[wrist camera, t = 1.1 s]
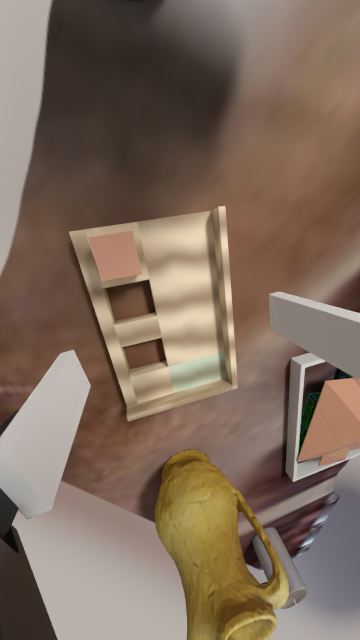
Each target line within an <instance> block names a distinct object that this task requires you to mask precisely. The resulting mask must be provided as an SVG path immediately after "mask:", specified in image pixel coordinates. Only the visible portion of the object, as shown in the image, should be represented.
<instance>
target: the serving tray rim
mask: <svg viewBox="0 0 360 640" xmlns="http://www.w3.org/2000/svg"><path fill="white" fill-rule="evenodd" d="M322 362H325V360H323V359H321V358H319V357H317V356H316V355H314V354H312V353H307V354H304V355H300V356H297V357H294V358H291V366H290V387H289V408H288V429H287V450H286V473H287V474H288V475H289V477H290V478H291V480H292V481H293V482H294V481H296V480H299V479H301V478H304V477H306V476H309V475H311V474H314V473H316V472H318V471H321V470H323V469H326V468H328V467H331V466H333V465H336V464H338V463H341V462H343V461H346V460H348V459H350V458H353V457H355V456H358V455H360V448H359V449H355V450H350V451H349V452H348V455H347V457H346V459H345V460H343V461H339V462H334V463H330V464H326V465H321V466H318V465H319V462H320V459H321V457H318V458H314V459H310V460H307V461H305V462H302V463H300V464H297V459H298V449H299V437H300V424H301V411H302V399H303V386H304V373H305V368H306V367H309V366H312V365H316V364H319V363H322Z"/></svg>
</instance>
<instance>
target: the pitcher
mask: <svg viewBox="0 0 360 640" xmlns="http://www.w3.org/2000/svg"><path fill="white" fill-rule="evenodd" d="M165 464H166V465H165V466H164V467H163V470H162V472H161V480H162V483H161V486H160V491H159V495H158V499H157V503H156V508H155V522H156V529H157V532H158V535H159V538H160V540H161V541H162V543H163V545H164V547H165V549H166V550H167V552H168V553H169V554H170V555H171V557H172V559H173V560H174V562H175V564H176V566H177V569H178V571H179V574H180V577H181V580H182V585H183V589H184V594H185V599H186V610H187V640H267V639H268V638H269V637H270V636H271V634H272V633H273V632H274V630H275V628H276V626H277V618H276V615H275V614H274V612H273V609H279V608H281V607H282V606H283V605H285V603H286V601H287V599H288V597H289V584H288V579H287V576H286V573H285V570H284V568H283V566H282V563H281V561H280V559H279V557H278V555H277V553H276V551H275V550H274V548H273V546H272V544H271V542H270V540H269V539H268V537H267V535H266V532H265V531H264V529H263V528H262V526H261V525H260V523H259V522H258V520H257V519H256V517H255V515H254V514H253V512H252V511H251V509H250V507H249V506H248V504H247V502H246V501H245V499H244V498H243V496H242V495H241V493H240V492H239V491H238V490H237V489H236V488H235V487H234V486H233V485H232V484H231V482H230V481H229V480H228V479H227V478H226V477H225V476H224V474H223V473H222V472H221V471H220V470H219V469H218V468H217V467H216V466H215V465H213V464H211V463H209V458H208V457H207V455H206V454H205V453H203V452H201V451H199V450H185V451H180V452H179V453H177V454H176V455H173V456H172V457H171V458H170V459H169V460H168V461H167V462H166V463H165ZM239 512H243V514H244V515H245V517H246V518H247V520H248V521H249V522H250V524H251V525H252V527H253V528H254V530H255V532H256V533H257V535H258V537H259V539H260V540H261V542H262V544H263V545H264V547H265V549H266V551H267V553H268V555H269V557H270V560H271V563H272V575H271V577H270V579H269V581H268V582H265V583H262V584H260V583H259V582H258V581H257V580H256V579H255V578H254V577H253V575H252V574H251V573H250V572H249V570H248V568H247V566H246V563H245V560H244V557H243V554H242V549H241V546H240V541H239V536H238V513H239Z"/></svg>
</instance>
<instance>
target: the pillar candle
mask: <svg viewBox="0 0 360 640" xmlns="http://www.w3.org/2000/svg"><path fill="white" fill-rule="evenodd" d="M264 531H265V532H266V535H267V537H268V539H269V540H270V542H271V544H272V546H273V548H274V550H275V551H276V553H277V555H278V557H279V559H280V561H281V563H282V566H283V568H284V570H285V573H286V576H287V579H288V584H289V597H288V599H287V601H286V603H285V605H283V606H282V607H281V608H280V609H287V608H290V607H292V606H294V605H296V604H297V603H298V602H300V601H301V600H302V599H303V598H304V597H305V596H306V594H307V588H306V586H305V584H304V582H303V580H302V578H301V577H300V575H299V573H298V571H297V569H296V567H295V565H294V563H293V562H292V559H291V557H290V555H289V554H288V552H287V550H286V548H285V546H284V544H283V542H282V540H281V538H280V536H279V534H278V532H277V531H276V529H275V528H273V527H269V528H266V529H264ZM252 543H253V546H254V549H255V551H256V554H257V556H258V559H259V561H260V563H261V566H262V568H263V570H264V573H265V575H266V577H267V580H268V581H269V579H270V577H271V575H272V563H271V560H270V557H269V555H268V553H267V551H266V549H265V547H264V545H263V544H262V542H261V540H260V539H259V537H258V535H256V536H255V537H254V538H253V540H252ZM296 607H297V605H296Z"/></svg>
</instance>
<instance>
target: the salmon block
mask: <svg viewBox="0 0 360 640" xmlns="http://www.w3.org/2000/svg"><path fill="white" fill-rule="evenodd" d="M88 239H89V242H90V245H91V249H92V252H93V255H94V259H95V262H96V265H97V268H98V272H99V275H100V278H101V282H102V281H107V280H112V279H117V278H123V277H128V276H133V275H138V274H142V271H141V266H140V262H139V257H138V253H137V249H136V244H135V240H134V235H133V231H127V232H121V233H114V234H108V235H101V236H95V237H88Z"/></svg>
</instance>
